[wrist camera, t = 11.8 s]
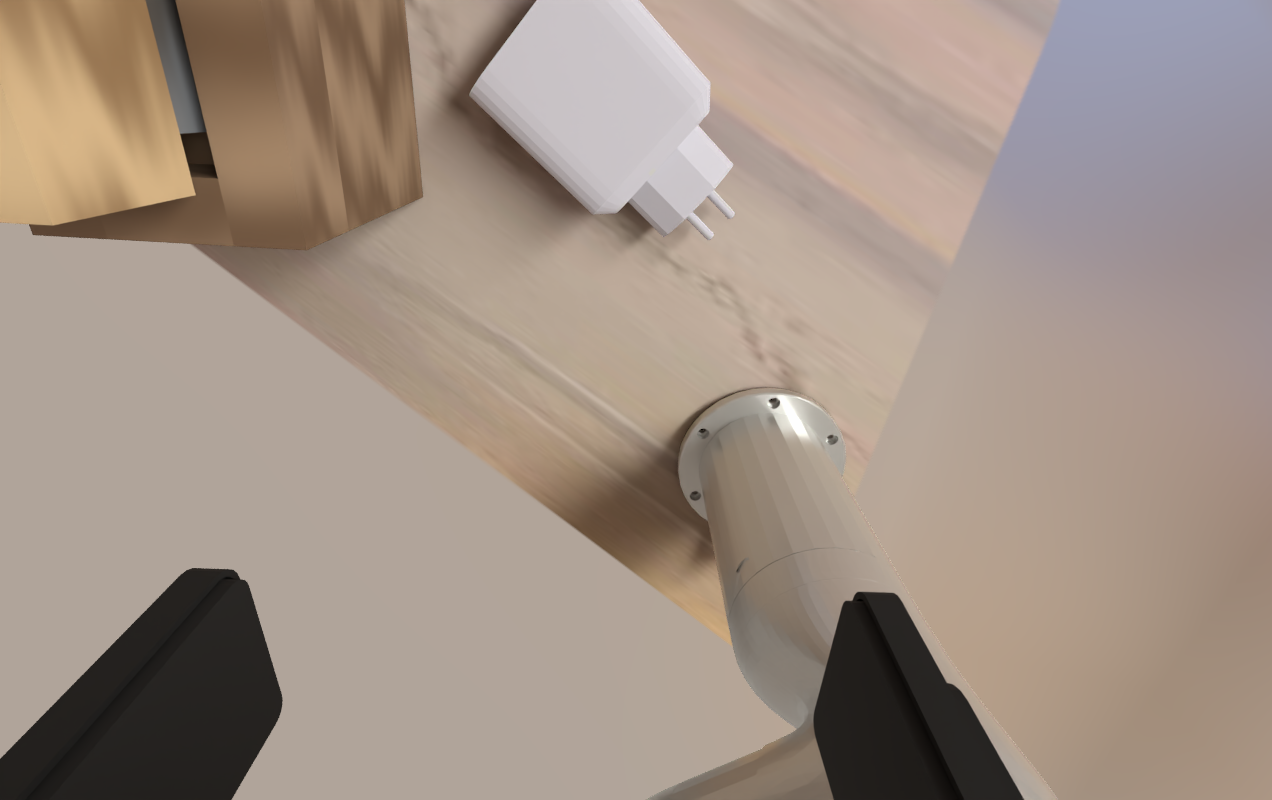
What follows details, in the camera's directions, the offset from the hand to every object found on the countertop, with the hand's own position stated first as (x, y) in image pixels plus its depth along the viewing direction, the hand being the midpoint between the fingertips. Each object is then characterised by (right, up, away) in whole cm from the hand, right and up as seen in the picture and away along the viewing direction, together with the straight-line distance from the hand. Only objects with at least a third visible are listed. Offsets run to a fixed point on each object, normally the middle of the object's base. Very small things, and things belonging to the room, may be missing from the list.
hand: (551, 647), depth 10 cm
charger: (+1, +20, +26) cm, 33 cm away
